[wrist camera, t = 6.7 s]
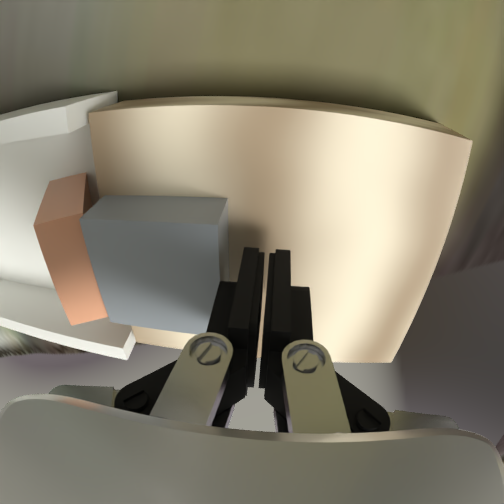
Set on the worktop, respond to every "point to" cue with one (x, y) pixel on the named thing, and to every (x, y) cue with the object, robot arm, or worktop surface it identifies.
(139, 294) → the slate tile
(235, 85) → the worktop surface
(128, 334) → the box
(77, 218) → the terracotta tile
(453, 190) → the plate
